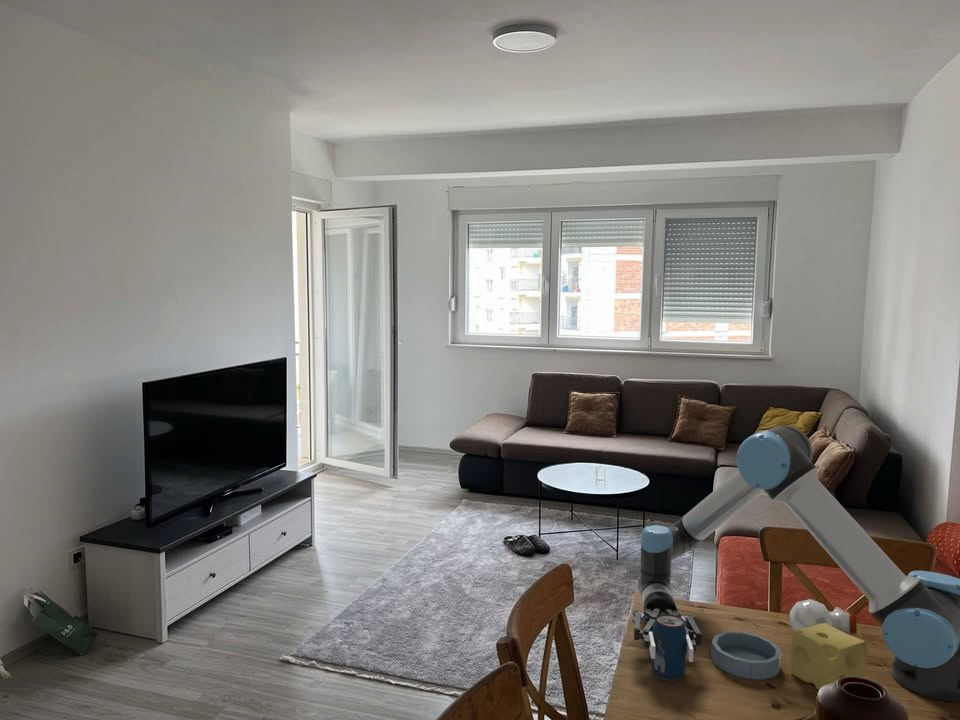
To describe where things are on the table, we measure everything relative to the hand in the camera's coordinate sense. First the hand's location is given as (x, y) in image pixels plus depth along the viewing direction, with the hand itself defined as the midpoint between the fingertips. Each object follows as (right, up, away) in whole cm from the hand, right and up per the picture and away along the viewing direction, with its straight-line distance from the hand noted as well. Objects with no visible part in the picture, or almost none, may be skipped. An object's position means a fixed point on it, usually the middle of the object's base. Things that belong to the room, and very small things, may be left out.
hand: (672, 653), depth 147 cm
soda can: (+1, -7, +6) cm, 9 cm away
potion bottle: (+41, -6, +23) cm, 48 cm away
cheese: (+34, -7, +4) cm, 35 cm away
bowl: (+19, -6, +11) cm, 23 cm away
